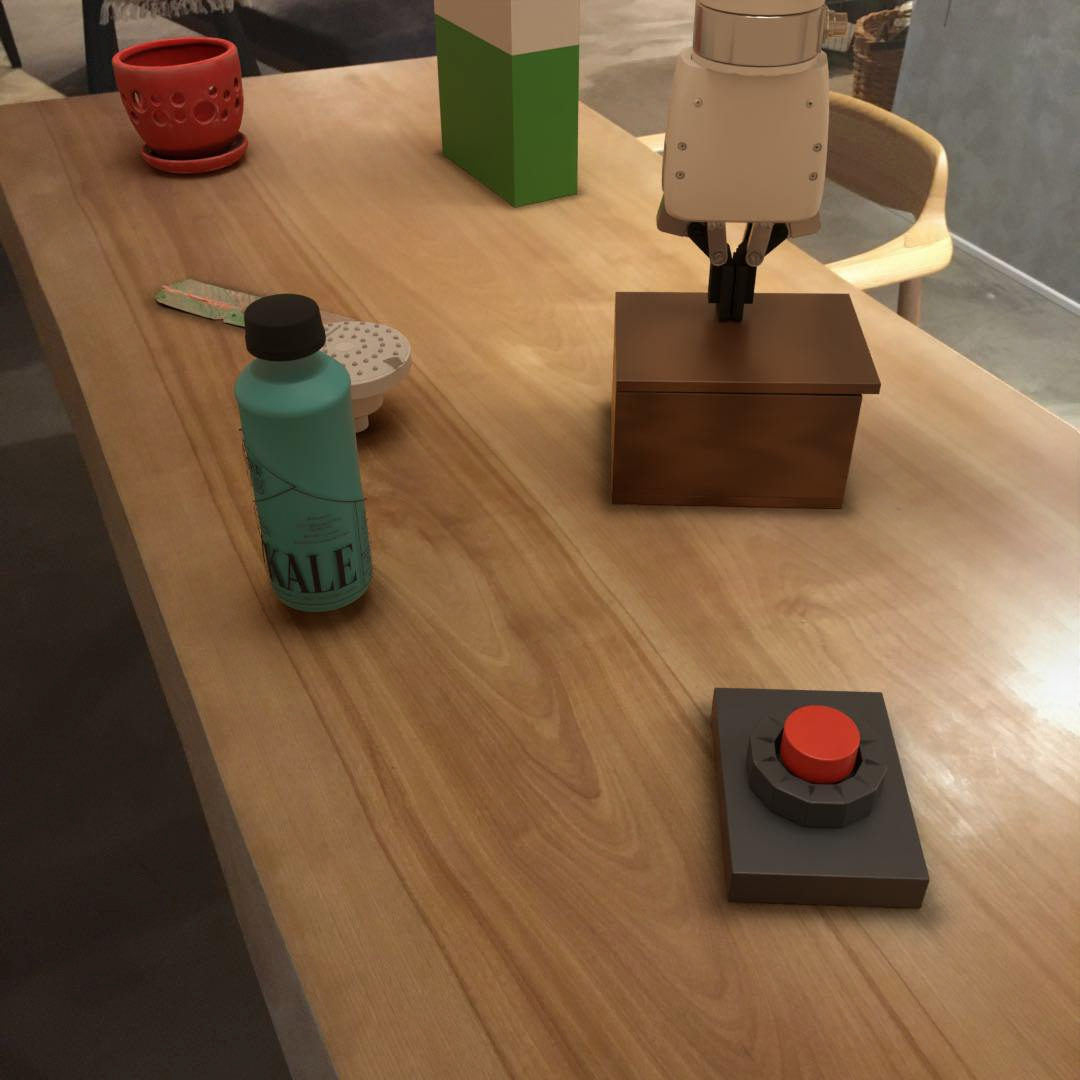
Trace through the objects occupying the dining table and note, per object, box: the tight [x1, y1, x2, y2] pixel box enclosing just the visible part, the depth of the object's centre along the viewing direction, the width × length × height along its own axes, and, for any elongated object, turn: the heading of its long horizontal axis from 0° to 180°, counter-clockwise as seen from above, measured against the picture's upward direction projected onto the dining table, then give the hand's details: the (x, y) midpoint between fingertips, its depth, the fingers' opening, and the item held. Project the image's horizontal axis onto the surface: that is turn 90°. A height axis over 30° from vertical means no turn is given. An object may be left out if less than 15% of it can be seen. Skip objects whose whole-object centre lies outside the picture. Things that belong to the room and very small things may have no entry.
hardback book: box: [433, 0, 581, 208], centre depth 121 cm, size 18×7×24 cm, turn 29°
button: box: [780, 705, 860, 784], centre depth 57 cm, size 4×4×2 cm
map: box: [154, 278, 357, 328], centre depth 103 cm, size 5×20×1 cm, turn 63°
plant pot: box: [111, 36, 249, 175], centre depth 129 cm, size 13×13×12 cm
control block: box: [710, 687, 931, 909], centre depth 59 cm, size 12×9×4 cm
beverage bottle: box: [233, 293, 376, 613], centre depth 67 cm, size 6×7×20 cm
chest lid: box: [614, 291, 882, 395], centre depth 79 cm, size 17×13×1 cm
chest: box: [610, 318, 864, 509], centre depth 82 cm, size 16×13×9 cm
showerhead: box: [319, 320, 412, 434], centre depth 86 cm, size 9×7×10 cm
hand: (728, 311), depth 82 cm, fingers closed
